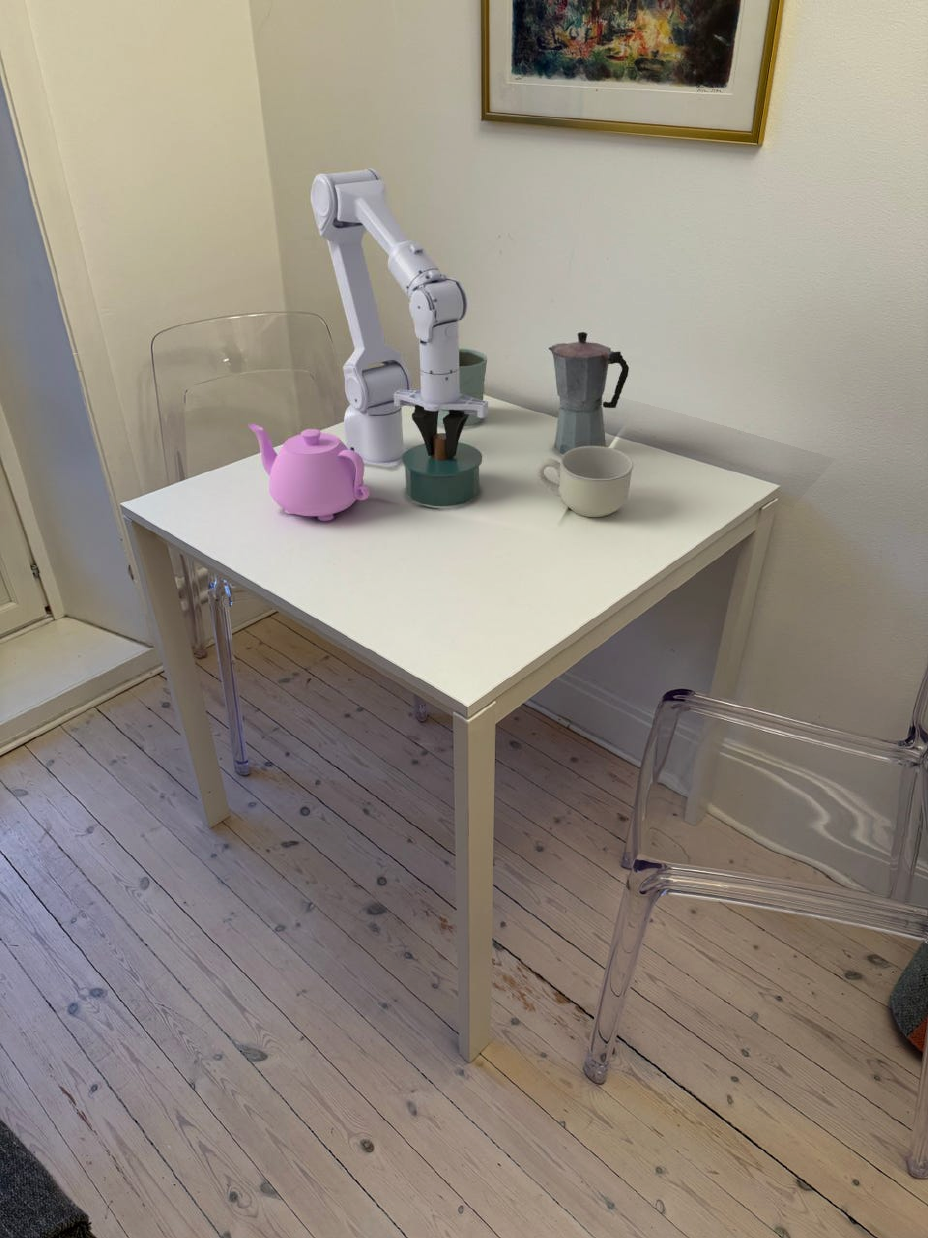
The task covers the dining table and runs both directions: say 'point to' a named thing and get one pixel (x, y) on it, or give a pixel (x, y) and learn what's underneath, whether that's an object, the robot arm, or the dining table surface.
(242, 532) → the dining table surface
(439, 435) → the lid
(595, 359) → the moka pot
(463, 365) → the green embossed cup
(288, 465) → the teapot
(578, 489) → the teacup
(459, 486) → the pot
